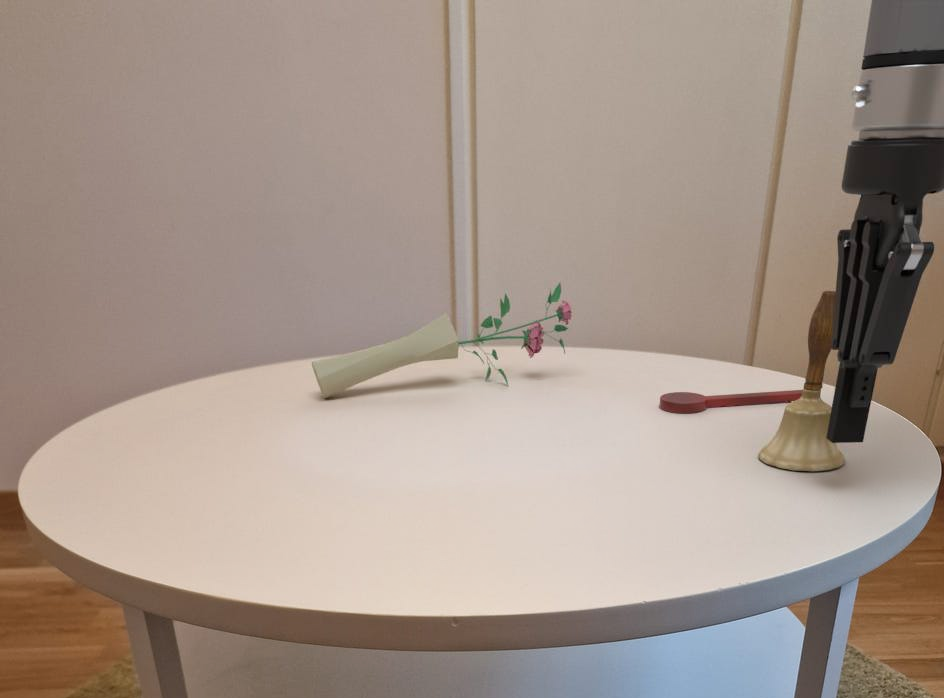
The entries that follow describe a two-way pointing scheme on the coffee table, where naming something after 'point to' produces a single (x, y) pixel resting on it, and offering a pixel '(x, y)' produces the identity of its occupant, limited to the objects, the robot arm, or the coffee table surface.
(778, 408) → the coffee table surface
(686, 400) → the spoon
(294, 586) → the coffee table surface
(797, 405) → the hand bell
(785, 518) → the coffee table surface
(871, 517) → the coffee table surface
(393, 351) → the flower vase
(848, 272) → the robot arm
